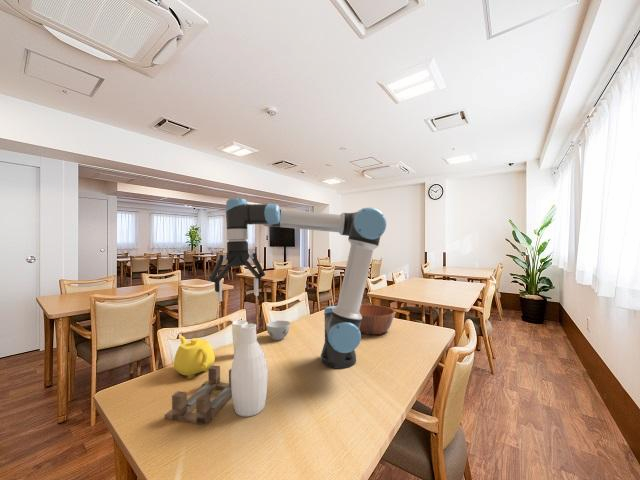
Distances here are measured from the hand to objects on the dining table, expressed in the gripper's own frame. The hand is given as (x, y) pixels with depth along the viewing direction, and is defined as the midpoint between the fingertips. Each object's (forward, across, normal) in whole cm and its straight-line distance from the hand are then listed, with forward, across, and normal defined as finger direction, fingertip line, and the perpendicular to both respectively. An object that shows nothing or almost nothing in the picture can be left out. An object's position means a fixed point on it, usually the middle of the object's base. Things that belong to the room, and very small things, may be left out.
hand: (238, 298), depth 100 cm
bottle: (+31, +4, +18) cm, 36 cm away
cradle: (+30, +14, +7) cm, 34 cm away
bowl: (+32, -79, -10) cm, 86 cm away
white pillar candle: (+31, -7, -21) cm, 38 cm away
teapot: (+30, +13, -19) cm, 38 cm away
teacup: (+31, -30, -31) cm, 53 cm away
